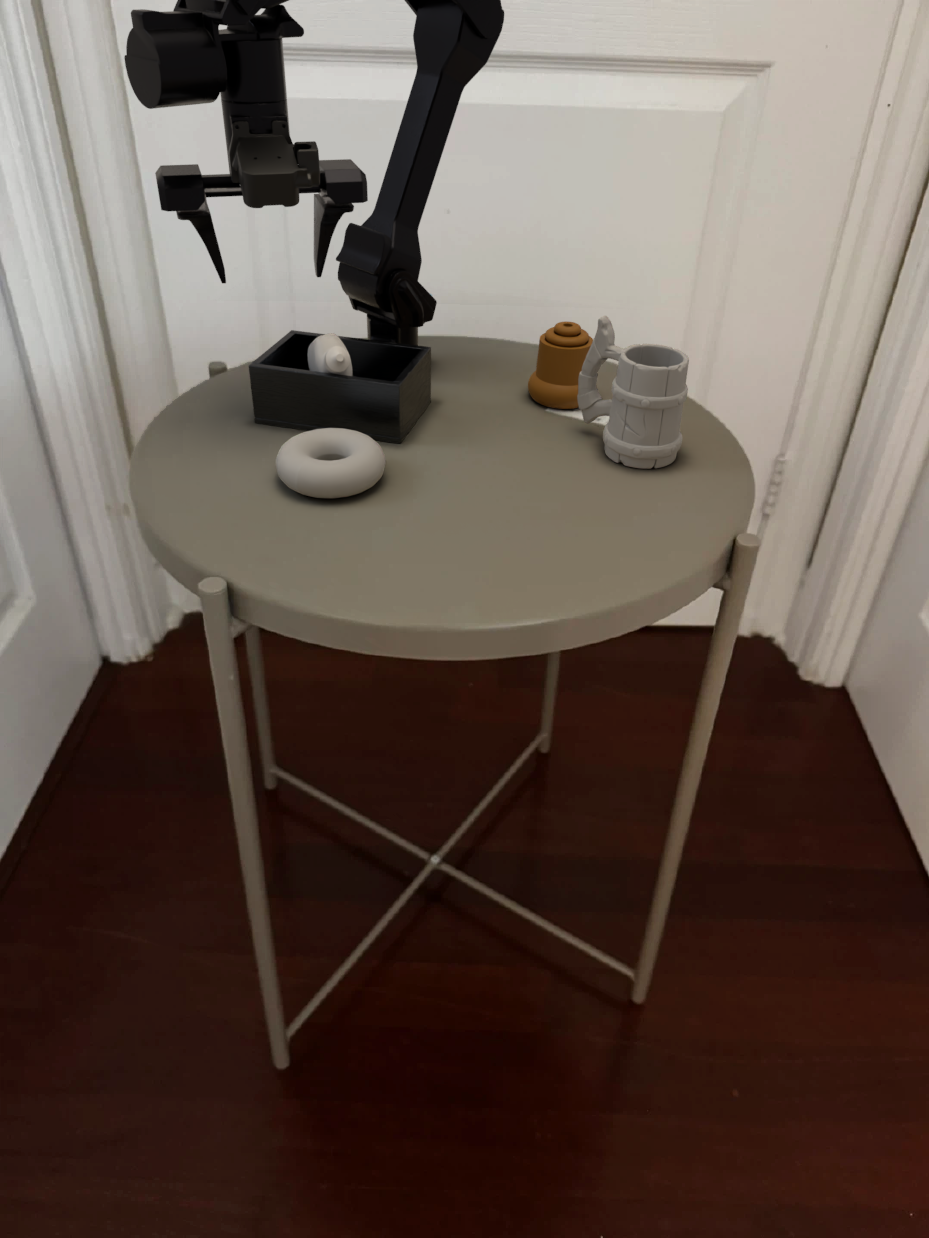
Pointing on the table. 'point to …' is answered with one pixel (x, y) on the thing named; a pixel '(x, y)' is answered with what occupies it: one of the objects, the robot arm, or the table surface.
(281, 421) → the black open box
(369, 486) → the donut
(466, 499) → the table surface
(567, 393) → the orange brown bell-shaped piece
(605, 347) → the mug
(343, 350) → the eye dropper bottle
